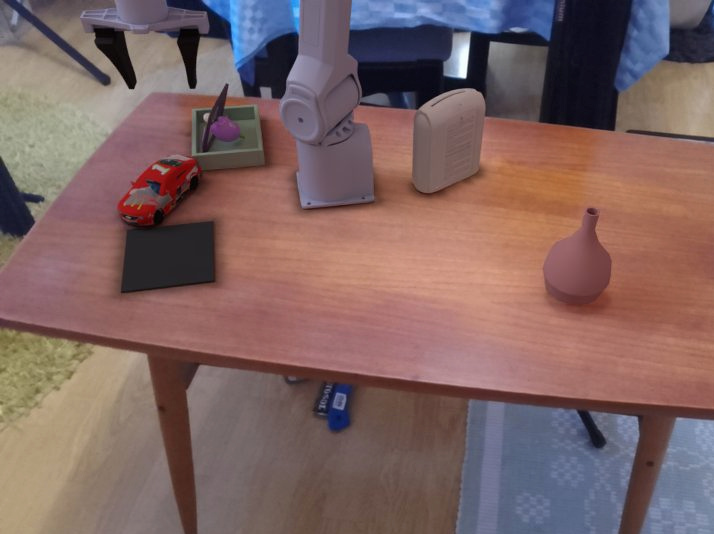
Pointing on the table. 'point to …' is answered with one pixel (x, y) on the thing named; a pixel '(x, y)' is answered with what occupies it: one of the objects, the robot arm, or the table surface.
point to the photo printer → (447, 139)
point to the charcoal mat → (168, 256)
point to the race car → (159, 190)
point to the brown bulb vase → (578, 265)
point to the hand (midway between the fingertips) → (163, 85)
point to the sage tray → (229, 152)
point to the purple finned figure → (220, 124)
